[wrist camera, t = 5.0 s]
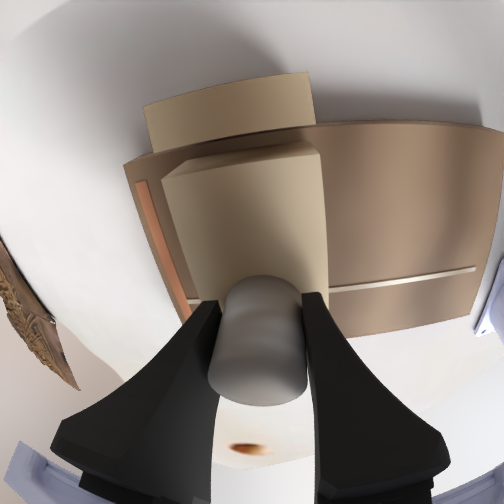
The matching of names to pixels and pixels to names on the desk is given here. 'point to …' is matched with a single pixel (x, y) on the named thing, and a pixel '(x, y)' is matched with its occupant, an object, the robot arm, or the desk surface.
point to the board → (367, 216)
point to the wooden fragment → (32, 320)
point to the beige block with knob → (249, 228)
